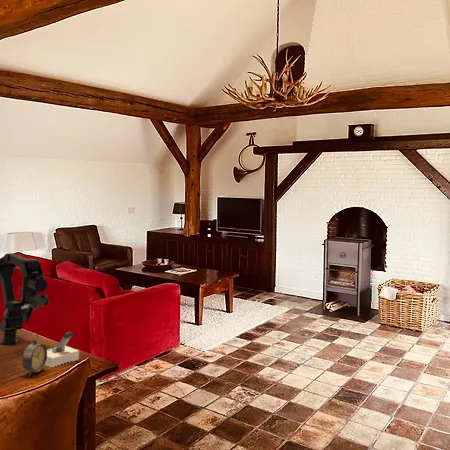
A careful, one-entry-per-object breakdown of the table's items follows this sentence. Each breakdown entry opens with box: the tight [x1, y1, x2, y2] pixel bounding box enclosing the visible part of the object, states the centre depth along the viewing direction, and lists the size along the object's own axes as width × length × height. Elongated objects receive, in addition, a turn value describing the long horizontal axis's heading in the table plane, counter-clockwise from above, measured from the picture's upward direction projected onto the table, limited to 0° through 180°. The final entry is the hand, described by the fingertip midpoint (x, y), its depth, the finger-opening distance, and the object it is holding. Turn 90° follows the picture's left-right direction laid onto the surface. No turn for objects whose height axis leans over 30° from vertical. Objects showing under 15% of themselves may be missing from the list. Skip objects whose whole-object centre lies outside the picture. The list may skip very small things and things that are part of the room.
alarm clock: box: [21, 332, 48, 378], centre depth 187 cm, size 11×5×16 cm, turn 168°
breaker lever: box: [56, 331, 74, 352], centre depth 201 cm, size 2×3×10 cm
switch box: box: [44, 345, 80, 368], centre depth 203 cm, size 10×14×6 cm
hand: (26, 322), depth 210 cm, fingers closed
